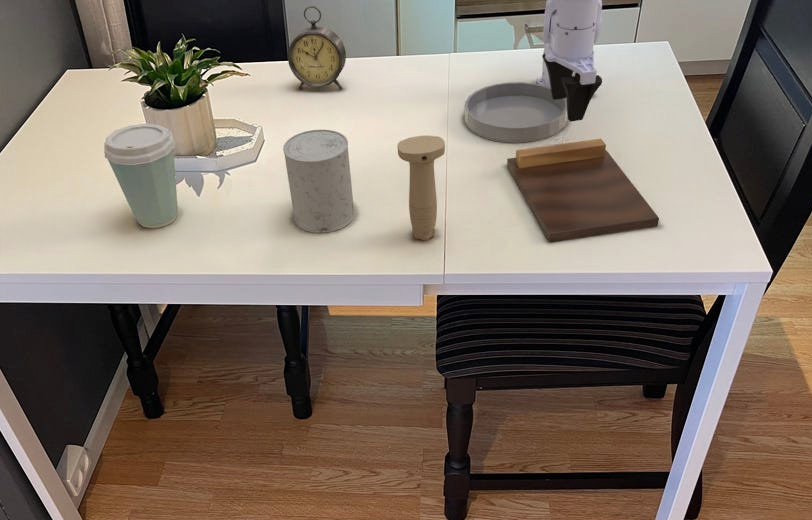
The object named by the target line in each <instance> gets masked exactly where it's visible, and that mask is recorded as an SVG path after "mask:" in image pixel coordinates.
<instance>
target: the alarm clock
mask: <svg viewBox="0 0 812 520" xmlns="http://www.w3.org/2000/svg"><path fill="white" fill-rule="evenodd" d="M308 9H315V10H316V11H317V12H318V13H319V17H318V20H315V19H312V20H309V19H308V18H307V16H306V12H307V10H308ZM303 18H304V19H305V21H307V22H308V23H310V24H311V25H310V26H309V27H306V28H304V29H303V30H301V32H299V33H298V34H297V35H296V36H295V37H294V39H292V41H291V43H290V45H289V47H288V51H287V62H288V67H289V69H290V70H291V72H292V74H293V75H294V76H295V78H296V79H297V81H298V80H299V82H300V84H299V85H298V90H301V89H302V88H303V86H304V85H306V86H309V87H311V88H323V87H327V86H330V85H332V84H334V85H335V86H336V87H338V89H339V90H343V86H342V85H341V84H340V82H339V81H338V80H337V79H338V78H339V76H340V74H341V73H342V71H343V70H344V67H345V65H346V61H347V60H346V59H347V53H346V52H347V51H346V48H345V45H344V43H343V41H342V39H341V38H340V37H339V36H338V34H337V33H335V32H334V31H333V30H331V29H329V28H327V27H324V26H321V25H316V24H317V23H318V22H320V21H321V18H322V12H321V10H320V9H319V8H318V7H317V6H315V5H308V6H307V7H306V8H305V9H304V10H303Z"/></svg>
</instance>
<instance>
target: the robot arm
mask: <svg viewBox="0 0 812 520" xmlns="http://www.w3.org/2000/svg"><path fill="white" fill-rule="evenodd" d="M602 9H603V1H602V0H546V3H545V10H544V16H543V29H542V42H544V44H545V45H544V47H543V48H544V49H543V54H542V55H541V58H542V69H541V78H536V84H539V85H544V86H547V87H550V88H551V94H552V98H553V99H554V100H556V99H564V98H566V99H567V120H568V121H569V122H576V121H577V122H578V121H582V120H583V119H584V117H585V115H586V112H587V109H588V107H589V104H590V102H591V100H592V98H593V96H594V95H595V93H596V92H597V90H598V89H599V88H600V87H601V85H602V84H603V78H602V77H601V76H600V75H599V74H597V69H596V68H595V51H594V45H596V44H597V43H598V42H599V40H600V35H601V28H602V18H603V17H602V16H603V10H602Z"/></svg>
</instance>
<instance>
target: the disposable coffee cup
mask: <svg viewBox="0 0 812 520" xmlns="http://www.w3.org/2000/svg"><path fill="white" fill-rule="evenodd" d="M103 144H104V145H103V147H104V148H103V153H104V158H105V159H107V161H108V163H109V165H110V167H111V170H112V171H113V174H114V176H115V178H116V181H117V182H118V184H119V186H120V187H119V188H120V189H121V191H122V193H123V195H124V197H125V199H126V202H127V203H128V206H129V208H130V210H131V212H132V214H133V216H134V219H135V221H137V223H138V224H139V225H140V226H142V227H143V228H146V229H159V228H164V227H166V226H168V225H171V224H172V223H174V221H175V220H176V219H177V217H178V213H179V208H178V195H177V194H178V193H177V191H178V190H177V178H176V163H175V151H174V150H175V149H174V148H175V147H176V140H175V136H174V134H173V132H172V131H171V130H169V128H166V127H165V126H162V125H161V124H156V123H155V124H154V123H139V124H132V125H128V126H125V127H122V128H119V129H116V130H114V131H113V132H111V134H109V135H108V136H106V138H105V142H104V143H103Z"/></svg>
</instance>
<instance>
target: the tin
mask: <svg viewBox="0 0 812 520" xmlns="http://www.w3.org/2000/svg"><path fill="white" fill-rule="evenodd" d="M567 120H568V116H567V99H566V98H564V99H556V100H554V99H553V98H552V94H551V88H550V87H547V86H544V85H539V84H538V83H534V82H524V81H512V82H511V81H510V82H502V83H501V82H500V83H494V84H491V85H488V86H484V87H482V88H479V89H477V90H475V91H474V92H473V93H471V94H470V95H468V97H467V98H466V100H465V102H464V123H465V125H466V127H467V129H469V130H470V131H471V132H472V133H474V134H475V135H477V136H479V137H480V138H481V137H482V138H483V139H487V140H490V141H495V142H502V143H511V144H513V143H514V144H516V143H519V144H520V143H529V142H530V143H531V142H536V141H540V140H544V139H547V138H550V137H552V136H554V135H556V134H557V133H559V132H561V130H562V129H563V128H564V127H565V126H566V124H567Z"/></svg>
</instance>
